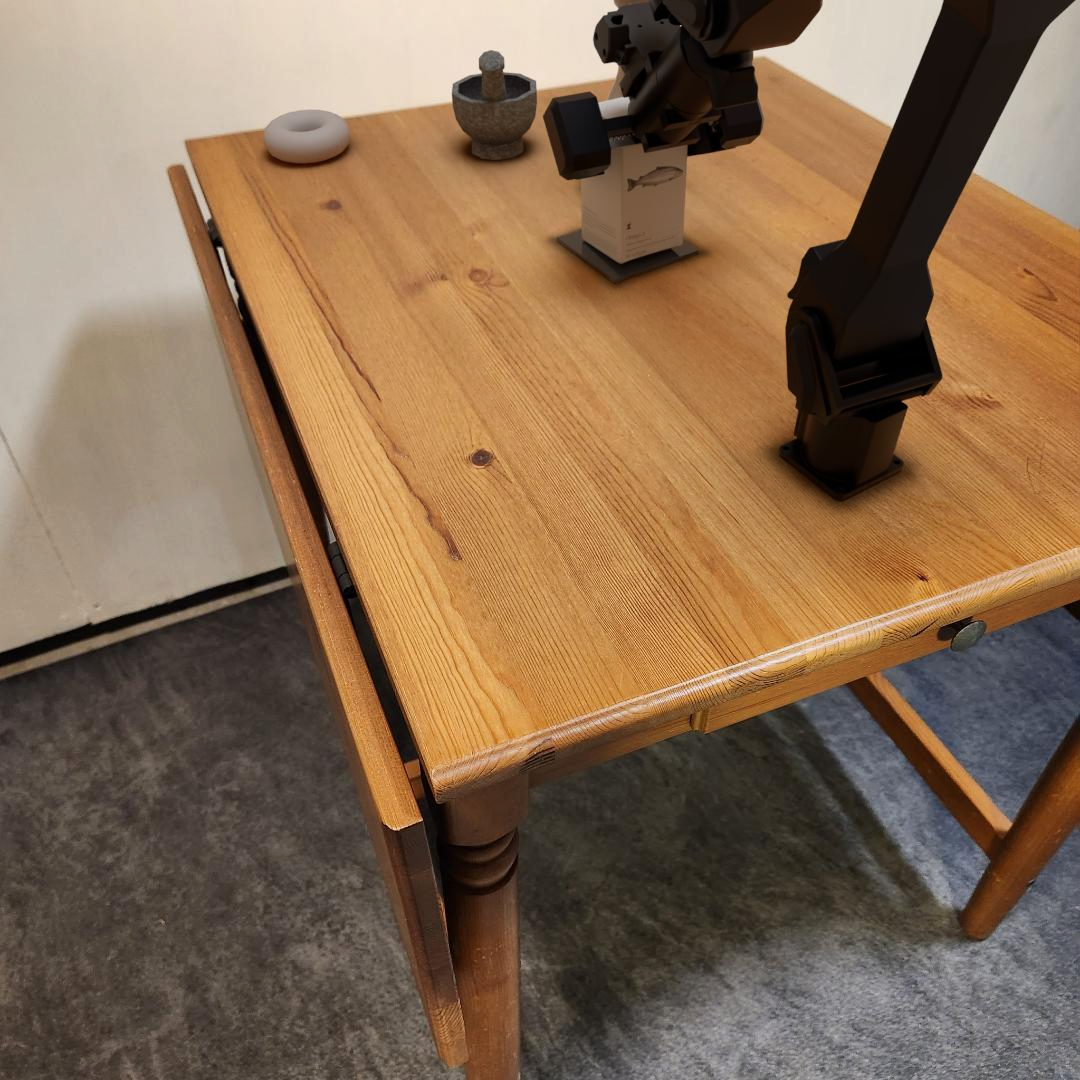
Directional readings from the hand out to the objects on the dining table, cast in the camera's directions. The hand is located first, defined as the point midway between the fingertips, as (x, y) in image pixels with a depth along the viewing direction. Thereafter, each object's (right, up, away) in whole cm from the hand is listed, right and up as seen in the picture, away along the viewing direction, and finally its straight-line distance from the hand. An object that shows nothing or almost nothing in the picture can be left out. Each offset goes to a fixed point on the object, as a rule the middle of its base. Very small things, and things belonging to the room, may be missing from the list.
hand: (622, 163), depth 88 cm
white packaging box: (+1, -6, +4) cm, 8 cm away
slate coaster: (+1, -6, +5) cm, 8 cm away
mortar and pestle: (-13, +10, +21) cm, 27 cm away
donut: (-35, +10, +23) cm, 43 cm away
